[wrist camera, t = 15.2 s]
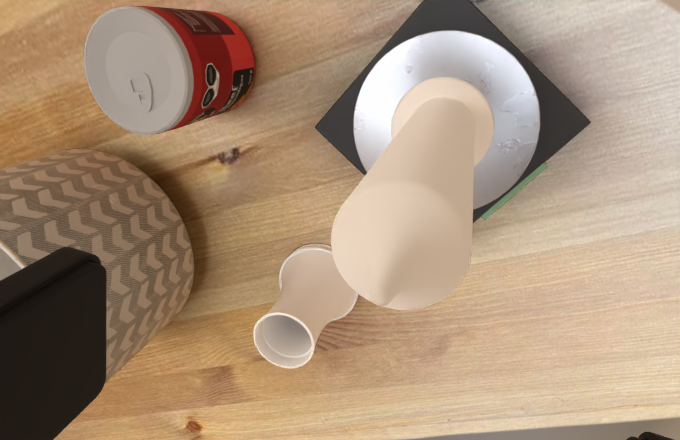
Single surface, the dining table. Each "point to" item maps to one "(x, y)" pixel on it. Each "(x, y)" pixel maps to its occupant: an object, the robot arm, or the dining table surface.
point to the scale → (468, 65)
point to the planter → (101, 237)
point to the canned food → (166, 66)
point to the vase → (303, 306)
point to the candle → (417, 200)
